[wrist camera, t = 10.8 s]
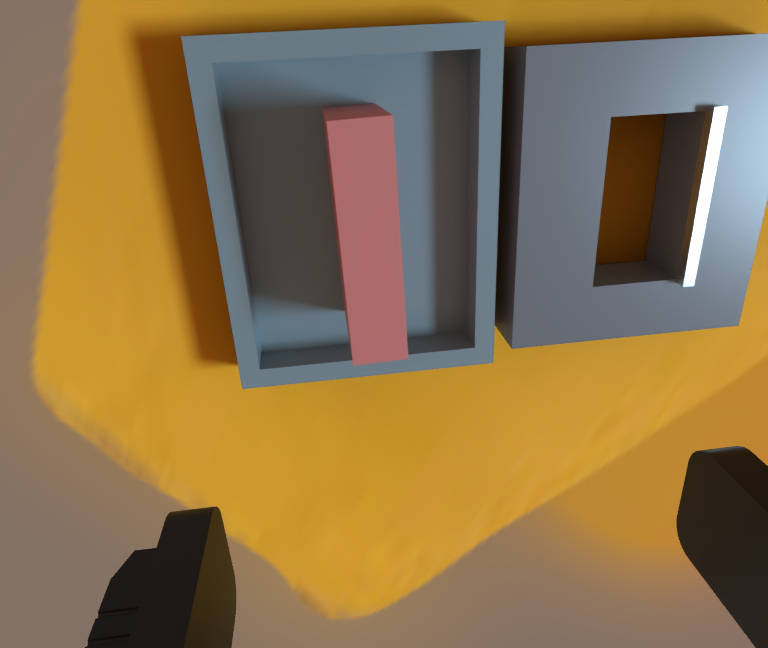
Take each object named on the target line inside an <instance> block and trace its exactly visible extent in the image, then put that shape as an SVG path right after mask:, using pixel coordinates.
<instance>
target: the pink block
mask: <svg viewBox="0 0 768 648" xmlns="http://www.w3.org/2000/svg"><path fill="white" fill-rule="evenodd" d="M322 114H323V123H324V132H325V141H326V150H327V159H328V168H329V177H330V186H331V195H332V204H333V213H334V221H335V230H336V239H337V248H338V257H339V266H340V275H341V284H342V293H343V302H344V311H345V317H346V323H347V329H348V336H349V342H350V348H351V354H352V360H353V366H355V365H363V364H371V363H379V362H387V361H395V360H403V359H408V343H407V328H406V312H405V296H404V281H403V265H402V250H401V234H400V218H399V203H398V187H397V171H396V156H395V140H394V125H393V115H392V114H390V113H389V112H387V111H386V110H384V109H383V108H381V107H380V106H378V105H377V104H375V103H371V104H360V105H348V106H337V107H326V108H322Z"/></svg>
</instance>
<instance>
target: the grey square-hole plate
mask: <svg viewBox="0 0 768 648" xmlns="http://www.w3.org/2000/svg"><path fill="white" fill-rule="evenodd" d="M666 113H667V114H666ZM650 114H666V121H665V128H664V135H663V142H662V149H661V155H660V162H659V169H658V176H657V183H656V190H655V196H654V203H653V210H652V217H651V224H650V231H649V237H648V244H647V251H646V258H645V261H633V262H622V263H611V264H600V265H595V262H596V252H597V243H598V234H599V225H600V216H601V207H602V197H603V188H604V179H605V170H606V161H607V152H608V142H609V133H610V124H611V117H620V116H635V115H650ZM767 198H768V33H763V34H744V35H725V36H706V37H688V38H669V39H650V40H631V41H613V42H594V43H575V44H556V45H537V46H519V47H504V67H503V96H502V125H501V154H500V183H499V212H498V241H497V269H496V298H495V326H496V327H497V329H498V330H499V331H500V333H501V334H502V336H503V337H504V338H505V340H506V341H507V343H508V344H509V345H510V347H511V348H512V349H514V348H524V347H533V346H543V345H553V344H563V343H573V342H582V341H592V340H602V339H612V338H621V337H631V336H641V335H651V334H660V333H670V332H680V331H690V330H700V329H709V328H719V327H729V326H739V321H740V317H741V312H742V308H743V304H744V299H745V295H746V290H747V286H748V282H749V277H750V273H751V269H752V264H753V260H754V255H755V251H756V247H757V242H758V238H759V233H760V229H761V225H762V220H763V216H764V211H765V207H766V203H767Z"/></svg>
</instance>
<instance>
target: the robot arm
mask: <svg viewBox="0 0 768 648" xmlns="http://www.w3.org/2000/svg"><path fill="white" fill-rule="evenodd" d="M677 532H678V537H679V540H680V543H681V546H682V548H683V550H684V552H685V554H686V555H687V557H688V558H689V560H690V561H691V562H692V564H693V565H694V566H695V568H696V569H697V570H698V572H699V573H700V574H701V576H702V577H703V578H704V580H705V581H706V582H707V584H708V585H709V586H710V588H711V589H712V590H713V592H714V593H715V594H716V596H717V597H718V598H719V599H720V601H721V602H722V603H723V605H724V606H725V607H726V609H727V610H728V611H729V613H730V614H731V615H732V617H733V618H734V619H735V621H736V622H737V623H738V625H739V626H740V627H741V629H742V630H743V631H744V633H745V634H746V635H747V637H748V638H749V639H750V641H751V642H752V643H753V645H754V646H755V647H756V648H768V466H767V465H765V463H763V462H762V461H761V460H760V459H759V458H758V457H757V456H756V455H755V454H753V453H752V452H751V451H750V450H748V449H747V448H745V447H742V446H735V447H726V448H717V449H709V450H701V451H696V452H694V453H693V454H692V455H691V457H690V459H689V462H688V467H687V472H686V476H685V481H684V486H683V491H682V496H681V500H680V505H679V510H678V515H677ZM235 614H236V584H235V575H234V570H233V566H232V561H231V557H230V552H229V547H228V543H227V538H226V534H225V529H224V525H223V520H222V516H221V512H220V510H219V508H218V507H208V508H200V509H191V510H183V511H175V512H170V513H169V514H168V515H167V517H166V520H165V523H164V526H163V529H162V532H161V536H160V539H159V542H158V546H157V548H152V549H144V550H136V551H134V552H133V553H132V554H131V556H130V557H129V558H128V559H127V561H126V562H125V563H124V564H123V565H122V566H121V568H120V569H119V570H118V571H117V573H116V574H115V575H114V576H113V577H112V578H111V580H110V583H109V585H108V588H107V590H106V593H105V595H104V598H103V601H102V603H101V606H100V609H99V611H98V618H97V619H95V622H94V624H93V627H92V630H91V633H90V635H89V638H88V646H87V647H85V648H231V645H232V638H233V631H234V623H235Z"/></svg>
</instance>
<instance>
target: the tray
mask: <svg viewBox="0 0 768 648" xmlns="http://www.w3.org/2000/svg"><path fill="white" fill-rule="evenodd" d="M504 34H505V21H485V22H464V23H444V24H424V25H403V26H383V27H362V28H342V29H321V30H301V31H281V32H260V33H240V34H219V35H199V36H181V40H182V45H183V51H184V57H185V63H186V68H187V74H188V80H189V86H190V91H191V97H192V103H193V109H194V114H195V120H196V126H197V132H198V137H199V143H200V149H201V155H202V160H203V166H204V172H205V178H206V183H207V189H208V195H209V200H210V206H211V212H212V218H213V223H214V229H215V235H216V241H217V246H218V252H219V258H220V264H221V269H222V275H223V281H224V287H225V292H226V298H227V304H228V310H229V315H230V321H231V327H232V333H233V338H234V344H235V350H236V356H237V361H238V367H239V373H240V379H241V384H242V389H247V388H257V387H266V386H276V385H286V384H295V383H305V382H314V381H324V380H334V379H343V378H353V377H362V376H372V375H382V374H391V373H401V372H410V371H420V370H429V369H439V368H449V367H458V366H468V365H477V364H487V363H493V354H494V325H495V296H496V267H497V238H498V208H499V179H500V150H501V121H502V92H503V63H504ZM371 103H375V104H377V105H378V106H380V107H381V108H383V109H384V110H386V111H387V112H389V113H390V114H392V115H393V125H394V140H395V156H396V171H397V187H398V203H399V218H400V234H401V250H402V265H403V281H404V296H405V312H406V328H407V343H408V359H403V360H395V361H387V362H379V363H371V364H363V365H355V366H353V360H352V354H351V348H350V342H349V336H348V329H347V323H346V317H345V311H344V302H343V293H342V284H341V275H340V266H339V257H338V248H337V239H336V230H335V221H334V213H333V204H332V195H331V186H330V177H329V168H328V159H327V150H326V141H325V132H324V123H323V114H322V108H326V107H337V106H348V105H360V104H371Z"/></svg>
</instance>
